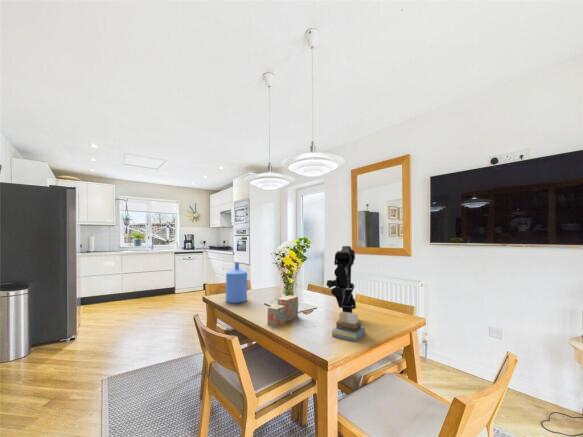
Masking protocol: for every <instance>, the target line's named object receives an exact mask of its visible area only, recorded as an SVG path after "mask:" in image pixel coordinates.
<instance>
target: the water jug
mask: <svg viewBox="0 0 583 437" xmlns="http://www.w3.org/2000/svg"><path fill="white" fill-rule="evenodd" d="M247 300H248V272H247V271H245V270H243V269H241V268H240V262H234V268H233V269H231V270H230V271H227V272H226V275H225V302H226V303H229V304H241V303H245V302H246V301H247Z"/></svg>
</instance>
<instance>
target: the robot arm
mask: <svg viewBox="0 0 583 437" xmlns="http://www.w3.org/2000/svg"><path fill="white" fill-rule="evenodd" d="M355 260H356V253H355V250H353V249H352V247H351V246H349V245H343V246H342V247H341V250H338V251H336V252H335V254H334V262H333V264H334V266H336V268H335V269H334V276H335V279H333V280H332V279H329V280H326V286H327V287H328V289H331V290H330V294H331V295H332V296H334V297H335V299H336V302H337V306H338V307H339V308H340V309H342V311H341V312H349V313H353V310H355V309H357V304H356V300H355V297H354V294H353V291H354V289H355V284H354V283H352V267H353V265H354V264H355Z"/></svg>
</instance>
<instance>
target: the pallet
mask: <svg viewBox="0 0 583 437" xmlns="http://www.w3.org/2000/svg"><path fill="white" fill-rule="evenodd" d="M361 326H362V322H361V321H359V320H358V323H356V324H349V323H344V322H339V320H338V321H336V325H335V327H336V328H337V329H342V330H347V331H352V332H357V330H359V329H361Z"/></svg>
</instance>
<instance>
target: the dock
mask: <svg viewBox="0 0 583 437" xmlns="http://www.w3.org/2000/svg"><path fill="white" fill-rule="evenodd" d="M365 334H366V327H365V326H362V325H361V329H359V330H357V332H352V331H347V330H342V329H337V328H336V326H335V327H334V328H333V329H331V336H332V337H334V338H337V339H338V338H339V339H343V340H347V341H351V342H357V341H359V340H360V339H361V338H362V337H363V336H364V335H365Z"/></svg>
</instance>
